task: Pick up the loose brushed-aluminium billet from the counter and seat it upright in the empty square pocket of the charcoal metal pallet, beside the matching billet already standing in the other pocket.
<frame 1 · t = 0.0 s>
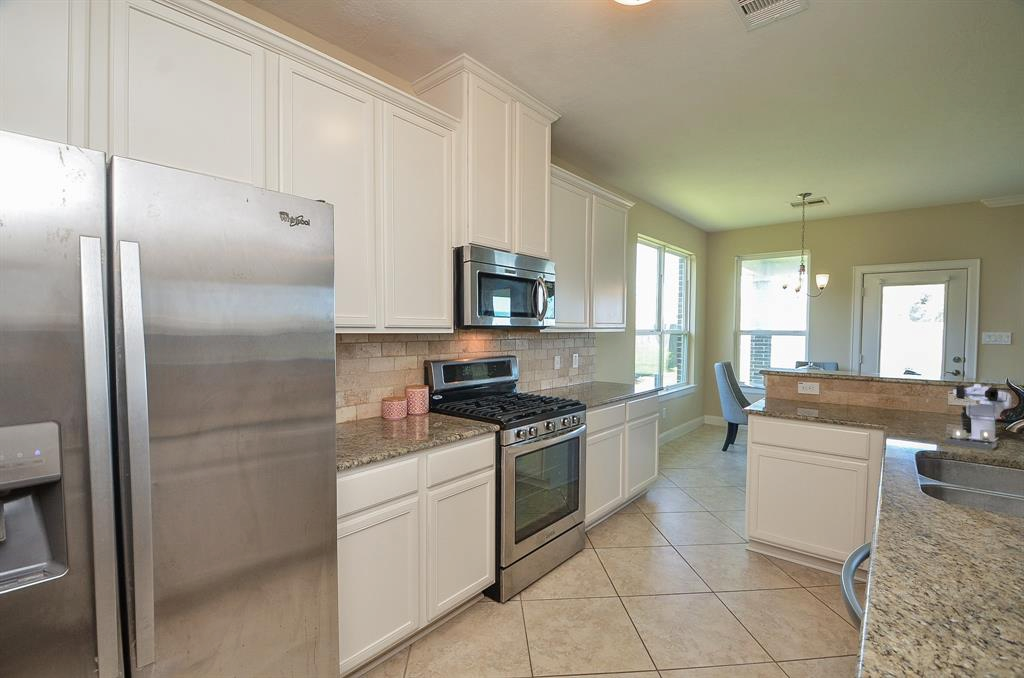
hand: (972, 393, 186), 21 cm above the worktop, tool horizontal, fingers open, 7 cm apart
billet: (987, 445, 185), on the worktop
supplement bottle: (972, 432, 212), on the worktop, touching arm
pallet: (970, 446, 183), on the worktop
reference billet: (959, 444, 185), resting on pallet
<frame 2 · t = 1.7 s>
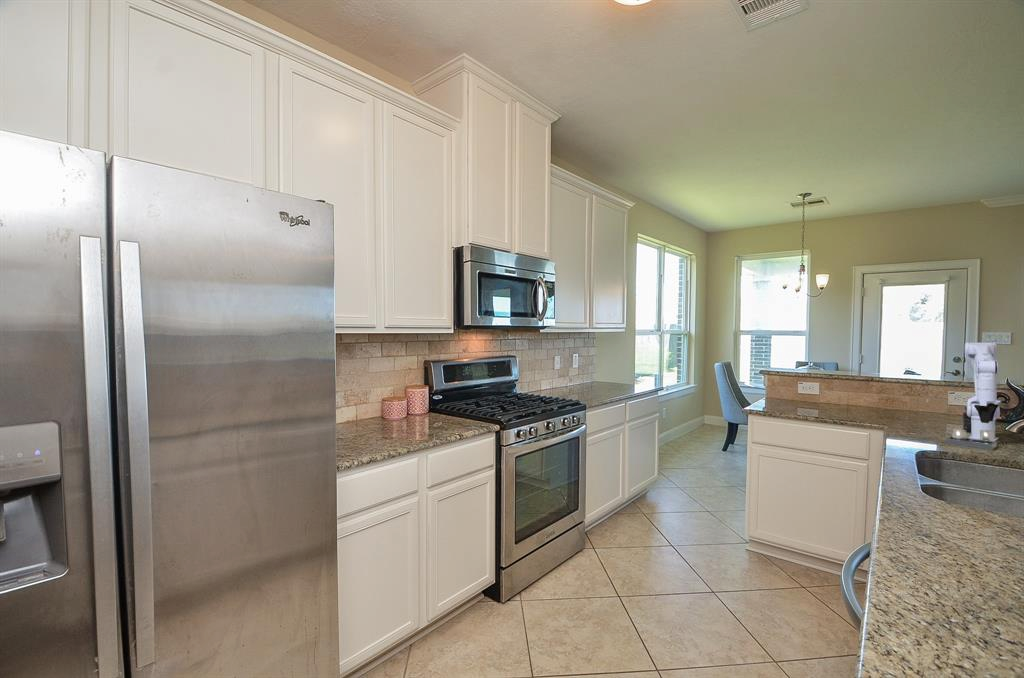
hand: (986, 422, 186), 10 cm above the worktop, tool pointing down, fingers open, 7 cm apart
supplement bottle: (973, 432, 212), on the worktop
everything else where it was.
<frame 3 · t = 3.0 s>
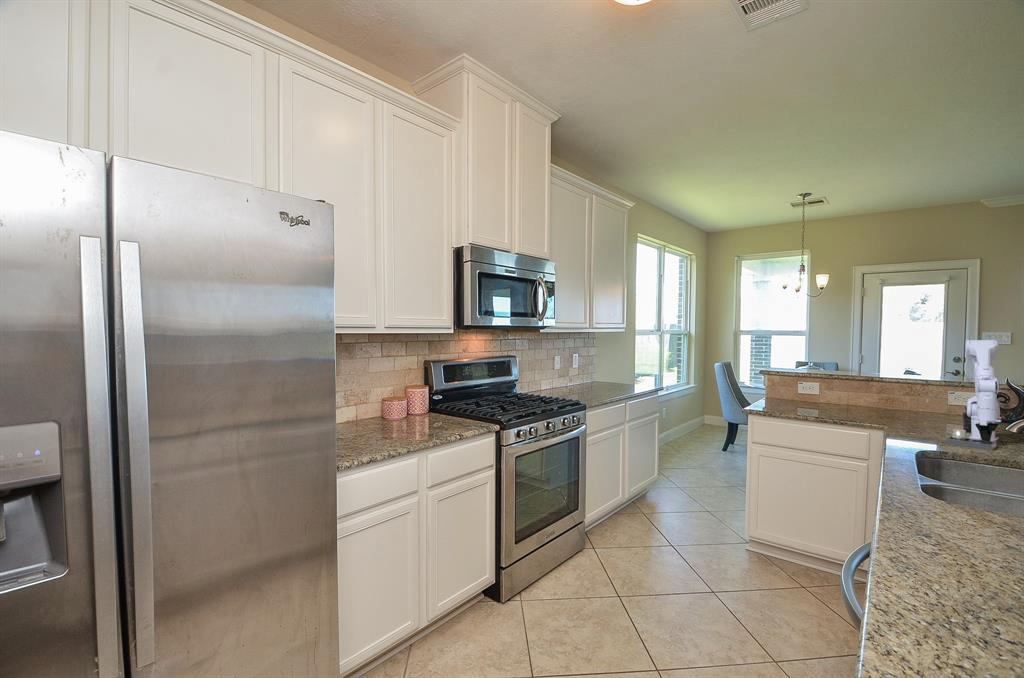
hand: (987, 441, 185), 2 cm above the worktop, tool pointing down, fingers closed on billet, 4 cm apart
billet: (987, 444, 185), on the worktop, touching gripper
everything else where it was.
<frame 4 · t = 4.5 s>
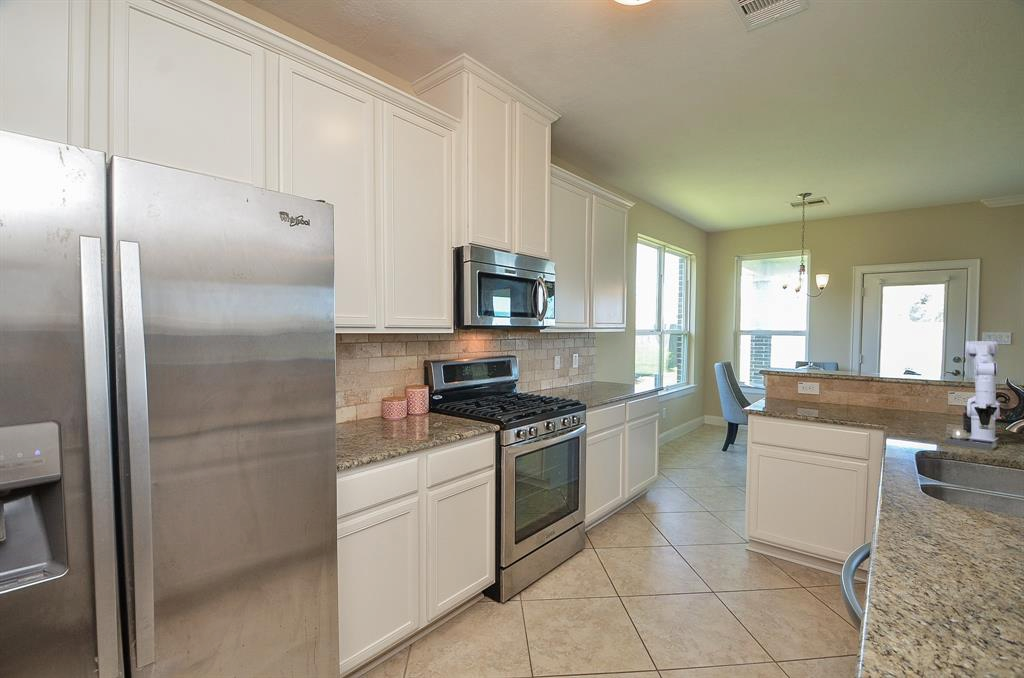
hand: (985, 424, 184), 9 cm above the worktop, tool pointing down, fingers closed on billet, 4 cm apart
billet: (986, 428, 184), point 7 cm above the worktop, touching gripper
everything else where it was.
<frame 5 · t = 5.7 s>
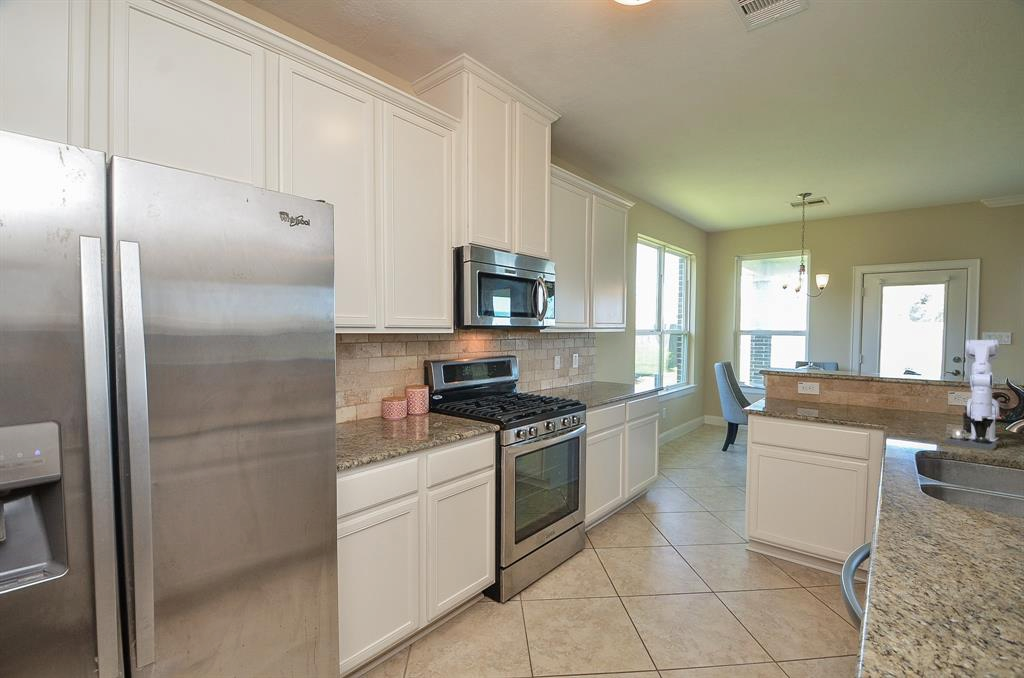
hand: (982, 437, 180), 4 cm above the worktop, tool pointing down, fingers closed on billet, 4 cm apart
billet: (982, 441, 180), point 3 cm above the worktop, touching gripper
everything else where it was.
when the fingers open (4 cm above the worktop, at t = 6.2 s): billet drops 2 cm, resting on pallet.
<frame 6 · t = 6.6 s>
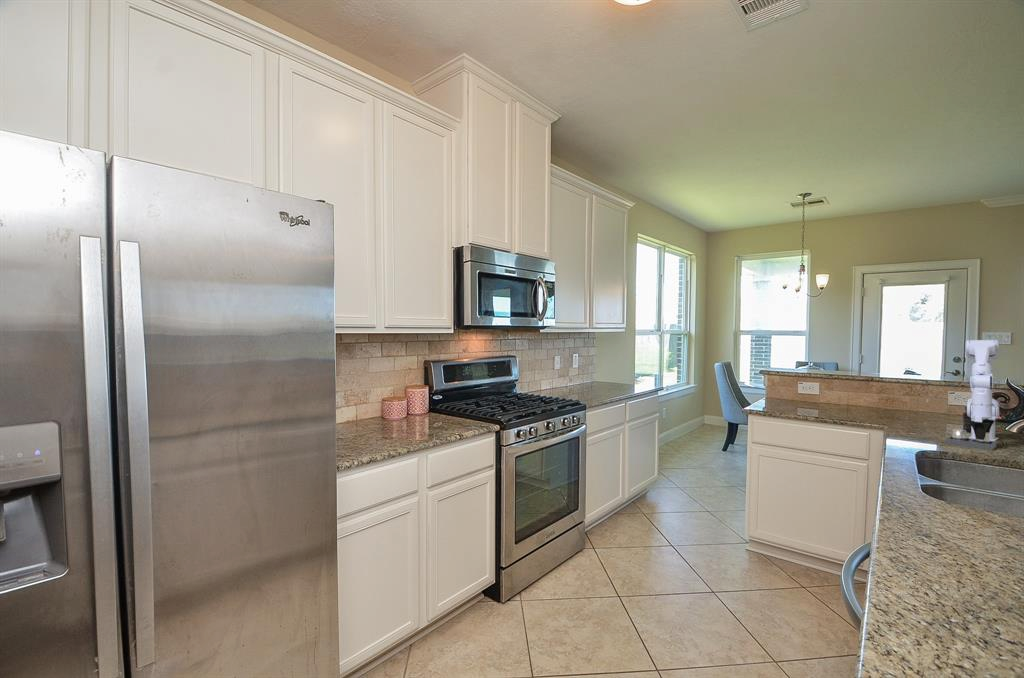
hand: (982, 438, 180), 4 cm above the worktop, tool pointing down, fingers open, 7 cm apart
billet: (982, 447, 180), resting on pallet
everything else where it was.
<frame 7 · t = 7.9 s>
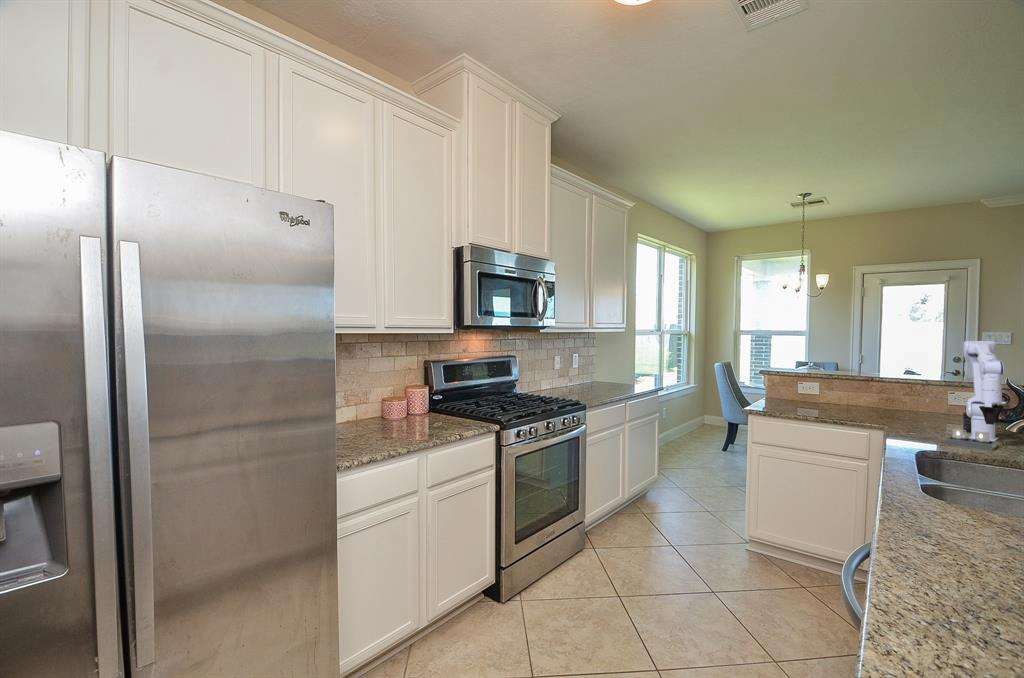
hand: (991, 423, 183), 9 cm above the worktop, tool pointing down, fingers open, 7 cm apart
nothing on the worktop moved.
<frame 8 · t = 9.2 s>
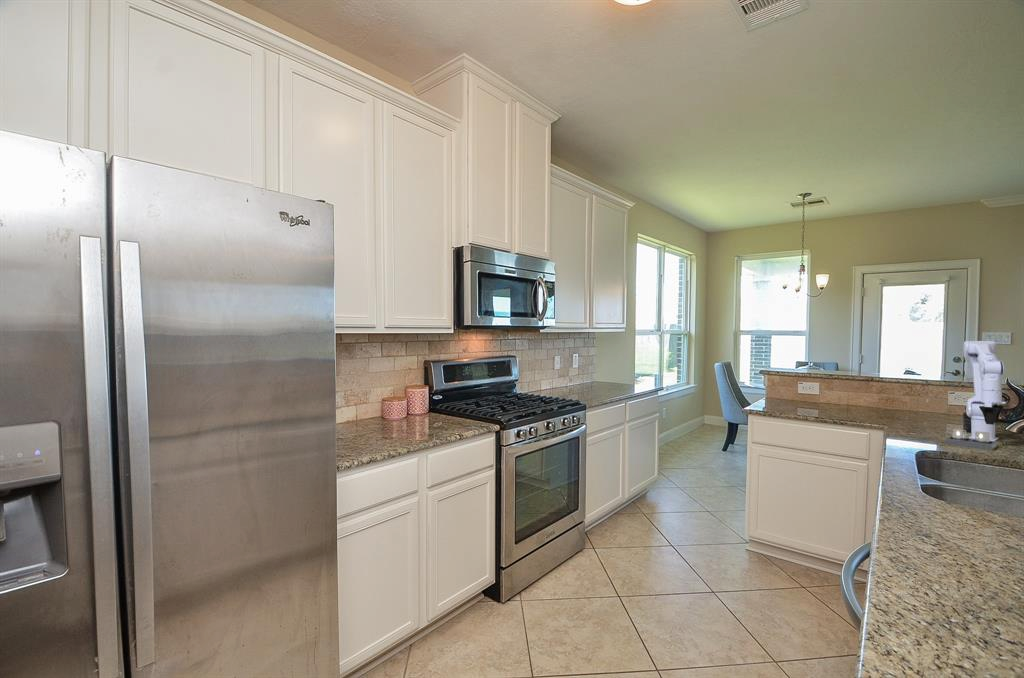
hand: (991, 423, 183), 9 cm above the worktop, tool pointing down, fingers open, 7 cm apart
nothing on the worktop moved.
at the end: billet 0.0 cm from the target spot on the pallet, point 0.3 cm above the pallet's base; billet tilted 0°; the gripper is holding nothing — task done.
